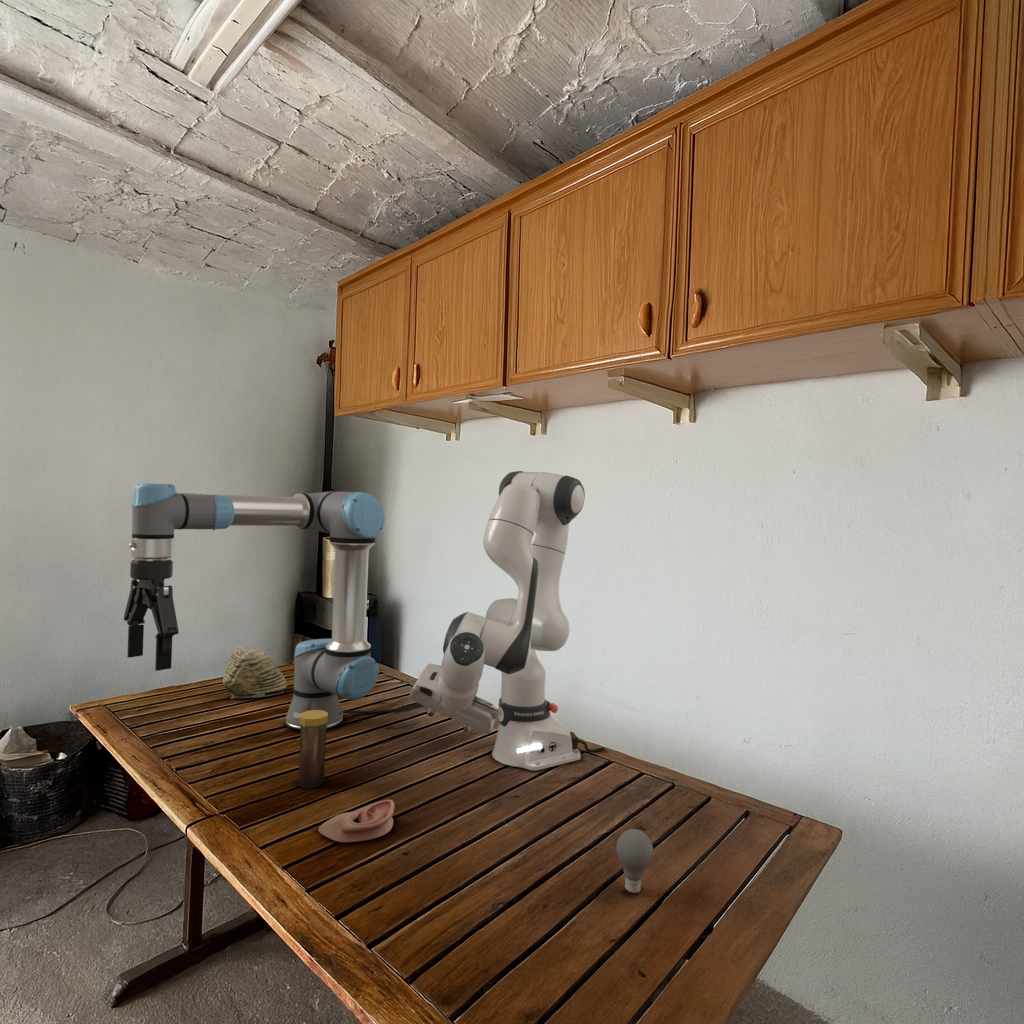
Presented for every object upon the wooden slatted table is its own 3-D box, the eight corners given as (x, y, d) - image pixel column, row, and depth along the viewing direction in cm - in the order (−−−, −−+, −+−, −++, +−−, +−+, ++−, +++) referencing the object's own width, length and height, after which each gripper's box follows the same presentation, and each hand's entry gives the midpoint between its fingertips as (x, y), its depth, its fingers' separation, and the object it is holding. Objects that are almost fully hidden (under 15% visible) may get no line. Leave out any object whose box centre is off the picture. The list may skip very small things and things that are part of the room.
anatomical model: (310, 816, 117) (339, 789, 129) (309, 837, 117) (338, 808, 129) (377, 827, 115) (401, 798, 126) (376, 848, 115) (400, 818, 126)
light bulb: (610, 879, 108) (613, 822, 108) (644, 879, 109) (647, 822, 109) (619, 902, 102) (622, 840, 102) (655, 901, 103) (658, 840, 103)
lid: (308, 715, 143) (308, 708, 143) (332, 718, 142) (333, 711, 142) (294, 724, 137) (294, 717, 137) (319, 727, 136) (320, 720, 136)
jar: (306, 776, 143) (308, 711, 143) (328, 779, 142) (331, 713, 142) (293, 786, 138) (296, 719, 138) (316, 789, 137) (319, 721, 137)
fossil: (218, 695, 195) (220, 647, 195) (278, 685, 208) (279, 640, 207) (228, 703, 189) (230, 653, 188) (289, 692, 201) (290, 645, 201)
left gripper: (108, 554, 134) (104, 654, 134) (159, 565, 118) (155, 678, 119) (146, 552, 140) (143, 648, 140) (199, 563, 124) (195, 671, 124)
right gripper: (505, 697, 139) (494, 729, 148) (422, 660, 142) (416, 693, 151) (495, 721, 135) (484, 752, 144) (409, 682, 138) (404, 715, 147)
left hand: (148, 662), depth 129 cm, fingers open, 13 cm apart
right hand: (449, 721), depth 148 cm, fingers open, 8 cm apart
